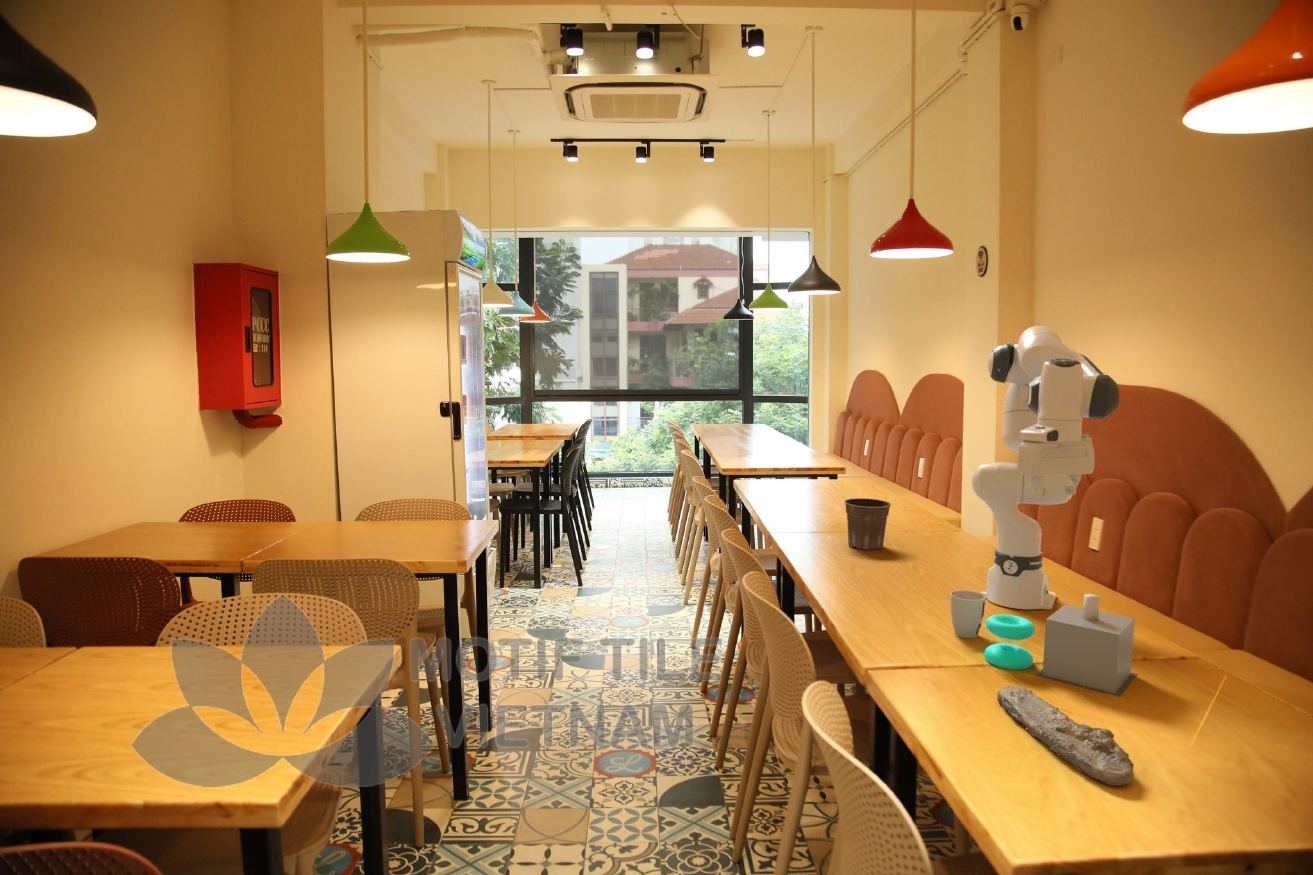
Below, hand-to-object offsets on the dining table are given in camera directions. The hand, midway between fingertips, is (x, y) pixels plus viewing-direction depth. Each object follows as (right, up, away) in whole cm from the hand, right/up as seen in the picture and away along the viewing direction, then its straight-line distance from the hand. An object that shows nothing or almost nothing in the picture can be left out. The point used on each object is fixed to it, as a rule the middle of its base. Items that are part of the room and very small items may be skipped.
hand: (1055, 495), depth 177 cm
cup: (-12, -36, +20) cm, 43 cm away
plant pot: (-13, -27, +111) cm, 115 cm away
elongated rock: (-16, -42, -33) cm, 56 cm away
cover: (+4, -38, -5) cm, 39 cm away
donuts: (-10, -38, +2) cm, 39 cm away
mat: (+4, -39, -5) cm, 39 cm away
